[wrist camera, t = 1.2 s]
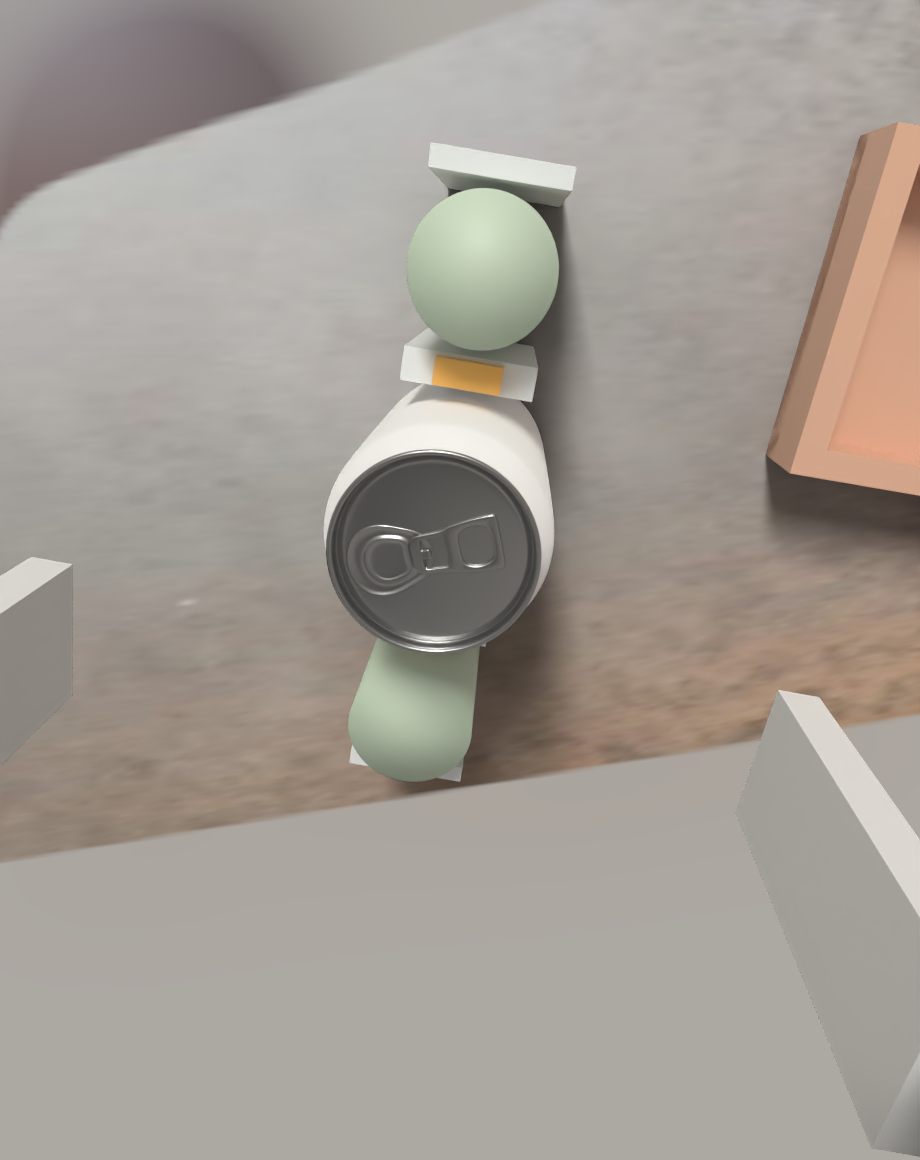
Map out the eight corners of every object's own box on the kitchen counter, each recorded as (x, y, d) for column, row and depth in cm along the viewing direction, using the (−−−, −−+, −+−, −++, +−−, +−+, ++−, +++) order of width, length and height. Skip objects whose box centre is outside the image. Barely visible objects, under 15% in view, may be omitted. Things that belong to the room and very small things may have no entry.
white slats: (379, 673, 36) (346, 772, 29) (450, 169, 29) (429, 139, 22) (470, 688, 36) (459, 791, 29) (562, 188, 29) (577, 164, 22)
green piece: (429, 317, 31) (396, 337, 23) (445, 200, 30) (417, 175, 21) (535, 335, 31) (542, 362, 23) (557, 219, 30) (573, 202, 21)
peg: (382, 652, 36) (342, 770, 28) (394, 566, 35) (355, 663, 26) (473, 668, 36) (460, 791, 28) (489, 582, 35) (481, 685, 26)
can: (361, 391, 32) (280, 459, 21) (528, 357, 31) (535, 409, 20) (399, 548, 34) (343, 686, 23) (556, 520, 34) (576, 649, 22)
